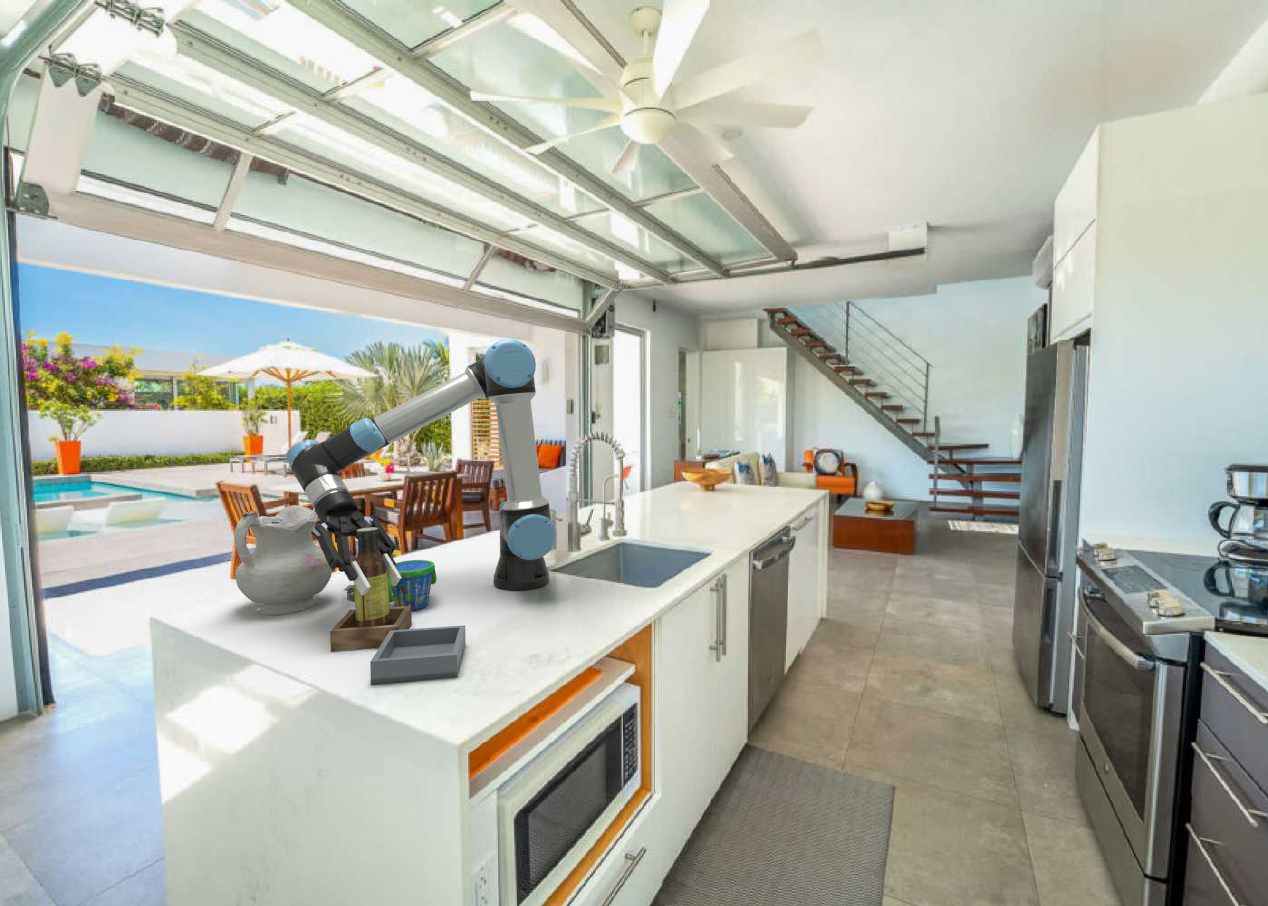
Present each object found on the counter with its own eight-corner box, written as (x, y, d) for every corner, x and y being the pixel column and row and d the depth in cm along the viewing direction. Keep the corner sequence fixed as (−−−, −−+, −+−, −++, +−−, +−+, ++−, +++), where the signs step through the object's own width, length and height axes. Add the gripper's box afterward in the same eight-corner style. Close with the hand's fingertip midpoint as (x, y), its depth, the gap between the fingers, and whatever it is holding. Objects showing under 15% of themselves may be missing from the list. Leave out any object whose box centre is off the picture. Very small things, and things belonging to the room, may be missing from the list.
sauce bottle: (395, 619, 114) (393, 526, 113) (378, 630, 107) (376, 532, 106) (366, 618, 114) (363, 525, 113) (347, 629, 108) (345, 531, 107)
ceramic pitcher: (293, 630, 117) (299, 517, 116) (203, 623, 117) (208, 510, 116) (345, 599, 139) (351, 503, 137) (270, 593, 138) (275, 497, 137)
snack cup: (401, 620, 120) (400, 576, 120) (368, 613, 125) (367, 570, 124) (451, 600, 134) (451, 560, 134) (420, 594, 139) (419, 555, 138)
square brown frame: (411, 623, 118) (411, 605, 118) (399, 646, 106) (398, 626, 106) (350, 627, 116) (350, 609, 116) (330, 651, 104) (330, 631, 104)
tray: (465, 644, 107) (465, 625, 107) (457, 677, 93) (457, 654, 93) (390, 650, 104) (390, 630, 104) (370, 685, 91) (370, 661, 90)
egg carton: (358, 604, 132) (357, 588, 131) (342, 599, 136) (341, 583, 135) (397, 593, 140) (396, 578, 140) (380, 588, 144) (380, 574, 144)
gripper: (366, 506, 126) (414, 584, 118) (278, 519, 109) (327, 611, 102) (379, 484, 123) (430, 564, 115) (291, 494, 106) (343, 588, 99)
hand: (382, 586), depth 109 cm, fingers closed on sauce bottle, 6 cm apart
